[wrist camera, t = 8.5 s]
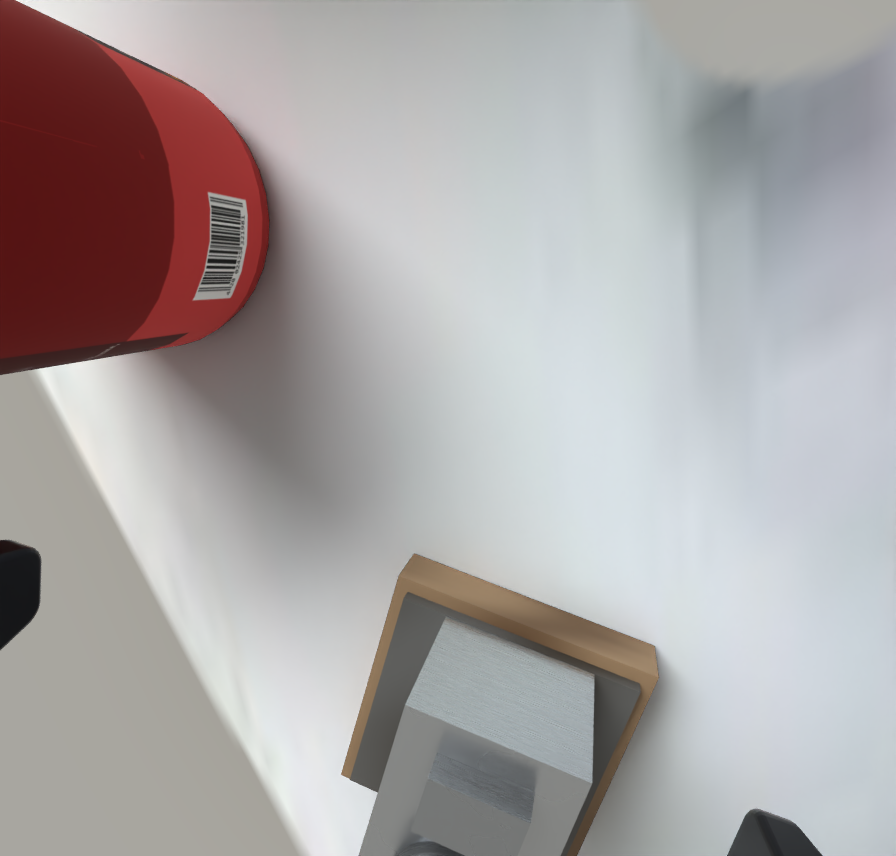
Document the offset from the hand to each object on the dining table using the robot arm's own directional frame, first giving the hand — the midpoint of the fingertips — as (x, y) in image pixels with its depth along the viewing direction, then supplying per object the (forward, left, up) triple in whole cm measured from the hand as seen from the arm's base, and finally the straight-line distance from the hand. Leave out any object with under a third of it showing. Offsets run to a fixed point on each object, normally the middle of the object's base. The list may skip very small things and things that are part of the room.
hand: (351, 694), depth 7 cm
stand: (-2, +9, -12) cm, 15 cm away
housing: (-2, +9, -10) cm, 13 cm away
